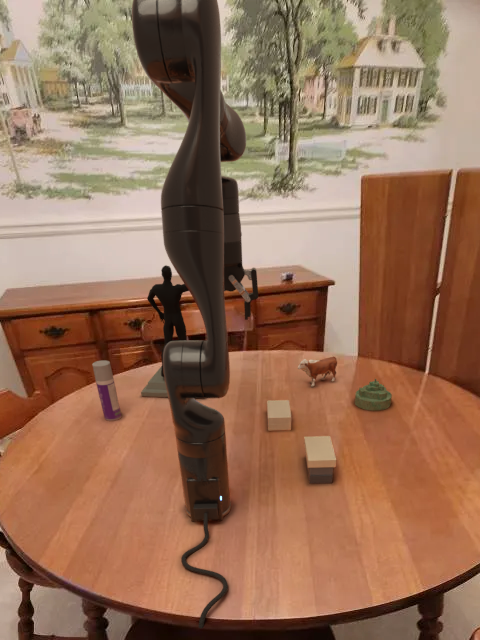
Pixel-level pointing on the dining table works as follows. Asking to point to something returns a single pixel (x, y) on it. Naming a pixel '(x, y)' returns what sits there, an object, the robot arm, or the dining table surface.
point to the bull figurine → (319, 368)
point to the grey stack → (320, 474)
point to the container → (107, 390)
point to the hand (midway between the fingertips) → (228, 319)
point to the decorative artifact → (373, 397)
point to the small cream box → (278, 415)
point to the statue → (166, 325)
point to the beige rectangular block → (319, 451)
